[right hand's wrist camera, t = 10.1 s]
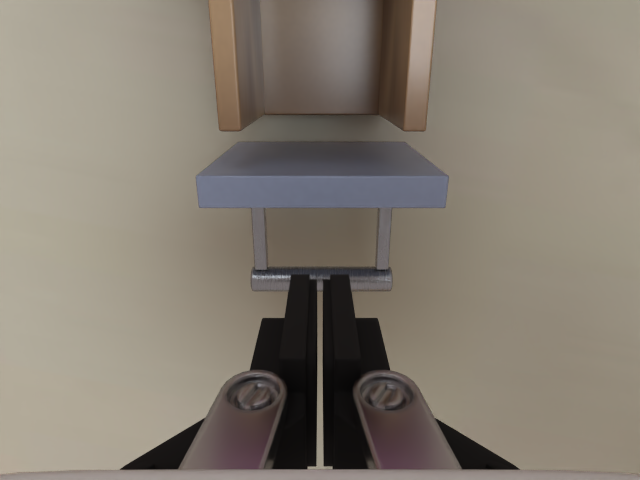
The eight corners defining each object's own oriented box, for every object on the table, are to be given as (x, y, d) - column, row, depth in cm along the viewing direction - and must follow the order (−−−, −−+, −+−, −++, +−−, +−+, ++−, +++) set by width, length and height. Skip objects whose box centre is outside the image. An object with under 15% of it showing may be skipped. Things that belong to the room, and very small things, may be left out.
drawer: (396, 260, 25) (431, 341, 18) (245, 260, 25) (212, 341, 18) (441, -358, 16) (553, -761, 8) (203, -359, 16) (94, -761, 8)
